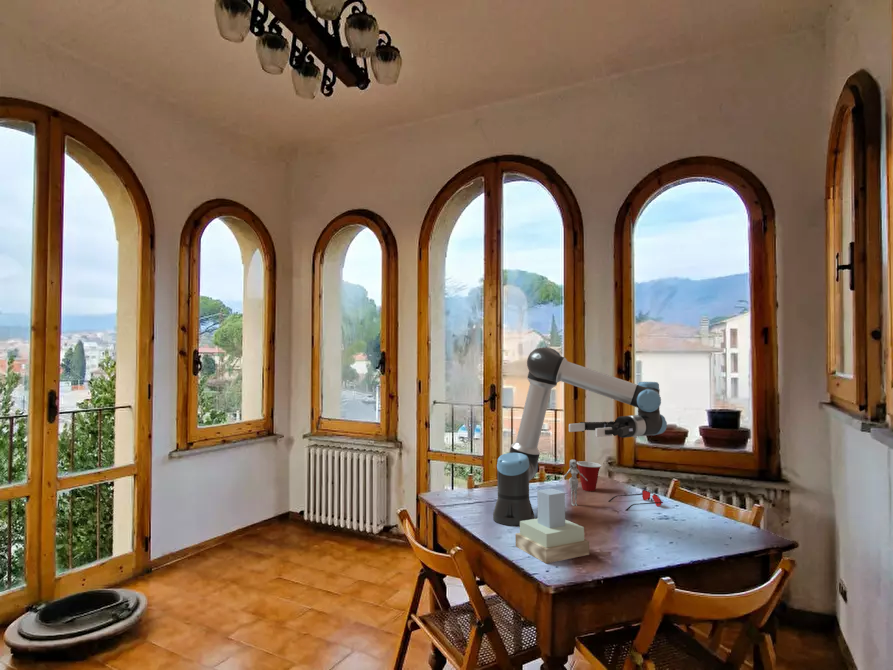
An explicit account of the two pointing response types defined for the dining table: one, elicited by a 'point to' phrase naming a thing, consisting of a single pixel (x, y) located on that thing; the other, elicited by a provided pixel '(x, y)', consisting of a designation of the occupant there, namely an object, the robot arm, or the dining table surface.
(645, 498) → the glasses
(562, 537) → the top brick
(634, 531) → the dining table surface
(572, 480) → the human figurine
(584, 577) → the dining table surface
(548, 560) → the base brick
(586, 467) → the plastic cup
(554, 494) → the tall brick
